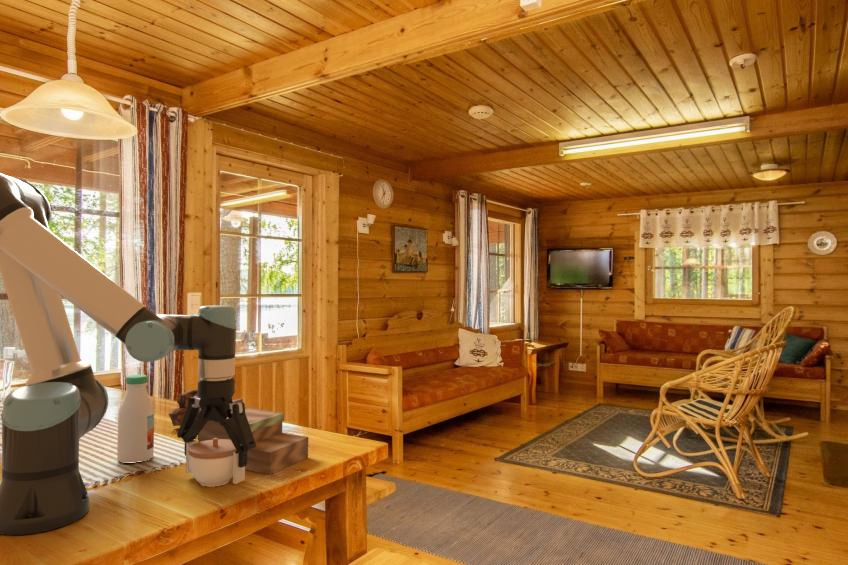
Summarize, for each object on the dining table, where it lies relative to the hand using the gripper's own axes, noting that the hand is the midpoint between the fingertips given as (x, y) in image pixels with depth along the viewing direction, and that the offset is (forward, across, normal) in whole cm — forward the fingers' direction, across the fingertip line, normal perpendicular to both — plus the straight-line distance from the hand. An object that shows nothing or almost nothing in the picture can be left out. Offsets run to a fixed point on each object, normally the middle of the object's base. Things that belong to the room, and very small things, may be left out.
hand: (214, 476), depth 124 cm
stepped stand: (+1, +3, -16) cm, 16 cm away
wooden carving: (+1, +40, -32) cm, 51 cm away
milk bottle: (+1, +27, -2) cm, 27 cm away
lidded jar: (+1, 0, 0) cm, 1 cm away
